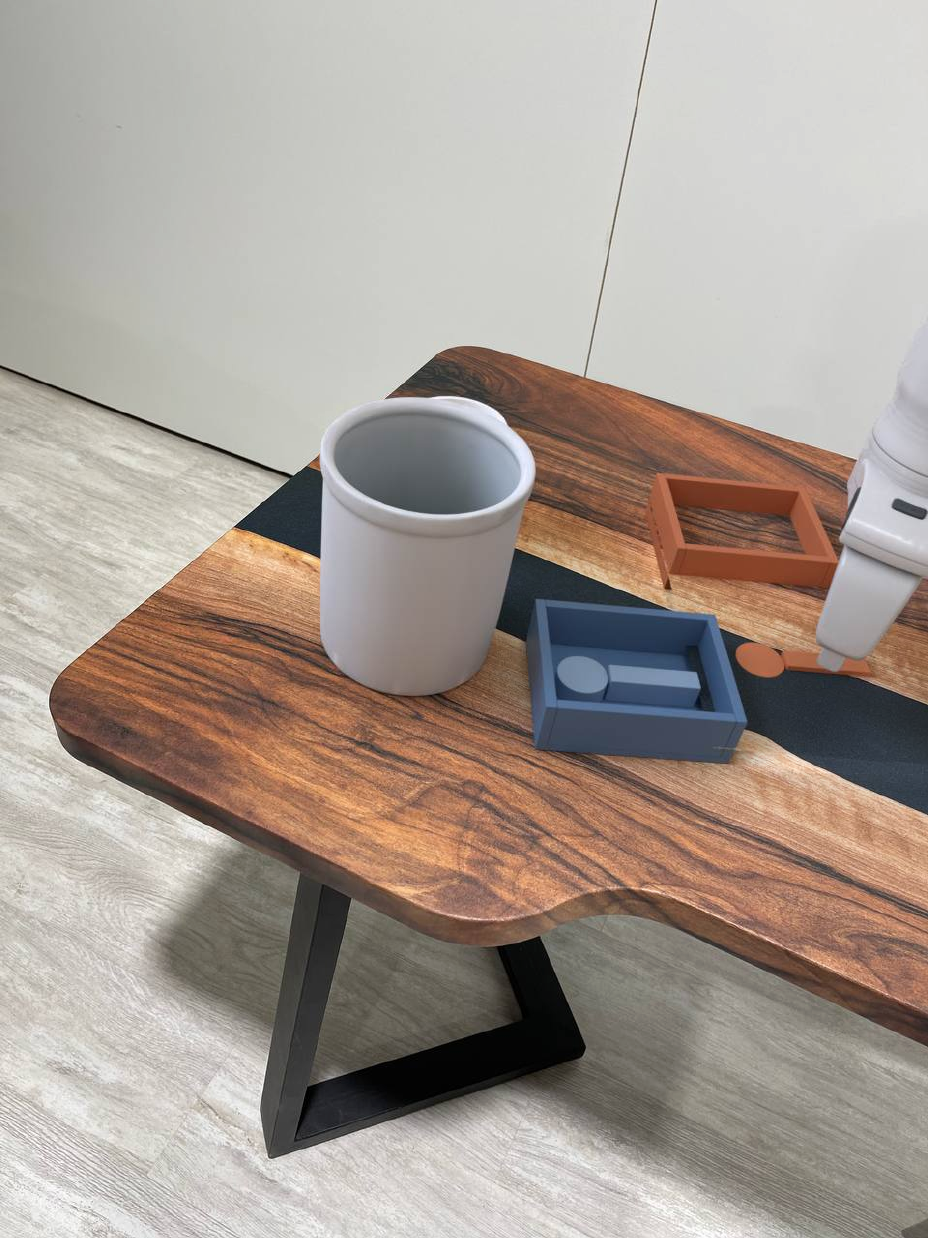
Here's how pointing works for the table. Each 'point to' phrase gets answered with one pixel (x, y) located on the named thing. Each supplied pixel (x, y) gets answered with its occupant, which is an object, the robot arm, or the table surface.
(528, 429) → the table surface
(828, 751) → the table surface
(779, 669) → the spoon terracotta
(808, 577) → the bin terracotta
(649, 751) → the bin blue
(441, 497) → the utensil holder
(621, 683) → the spoon blue
